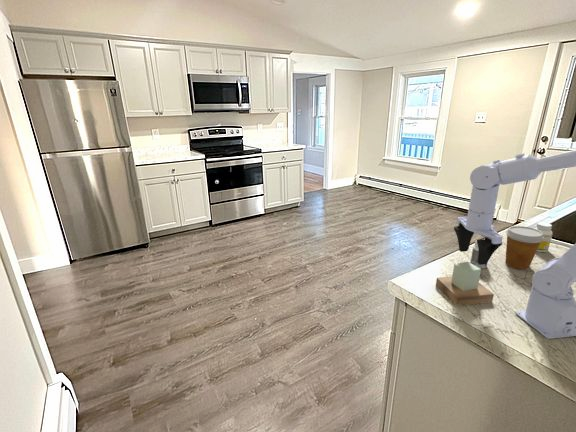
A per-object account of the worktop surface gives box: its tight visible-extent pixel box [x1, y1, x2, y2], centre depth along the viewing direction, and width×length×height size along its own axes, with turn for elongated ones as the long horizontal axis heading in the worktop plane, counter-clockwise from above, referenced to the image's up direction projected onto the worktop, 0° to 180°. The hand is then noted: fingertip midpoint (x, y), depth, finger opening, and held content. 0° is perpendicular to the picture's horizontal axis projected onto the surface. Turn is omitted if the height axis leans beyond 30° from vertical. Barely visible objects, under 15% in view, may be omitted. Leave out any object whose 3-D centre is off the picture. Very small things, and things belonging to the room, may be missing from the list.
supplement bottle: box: [534, 221, 553, 253], centre depth 107 cm, size 5×5×10 cm
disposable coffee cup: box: [505, 225, 544, 270], centre depth 97 cm, size 10×10×12 cm
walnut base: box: [435, 275, 495, 306], centre depth 85 cm, size 10×10×2 cm
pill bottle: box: [469, 239, 489, 269], centre depth 99 cm, size 5×5×8 cm
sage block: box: [451, 261, 482, 291], centre depth 84 cm, size 4×4×6 cm
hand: (472, 257), depth 84 cm, fingers open, 7 cm apart
